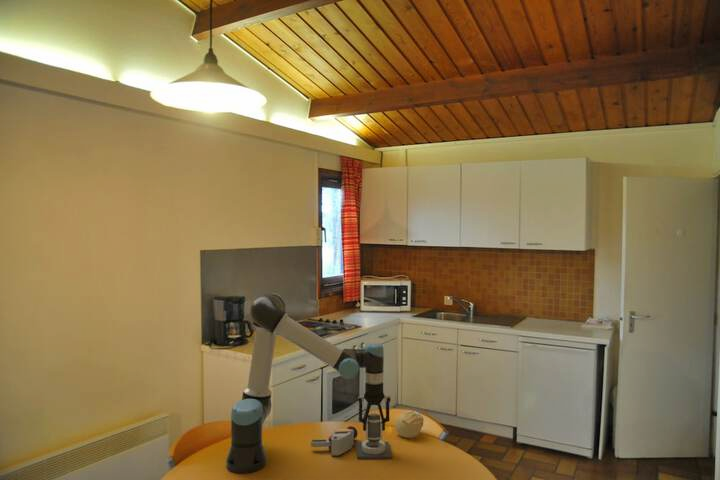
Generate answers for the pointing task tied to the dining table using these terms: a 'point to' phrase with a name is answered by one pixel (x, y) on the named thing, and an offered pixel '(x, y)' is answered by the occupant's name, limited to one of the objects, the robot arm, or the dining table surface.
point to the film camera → (338, 441)
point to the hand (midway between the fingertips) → (373, 438)
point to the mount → (373, 450)
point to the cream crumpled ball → (409, 424)
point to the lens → (373, 428)
